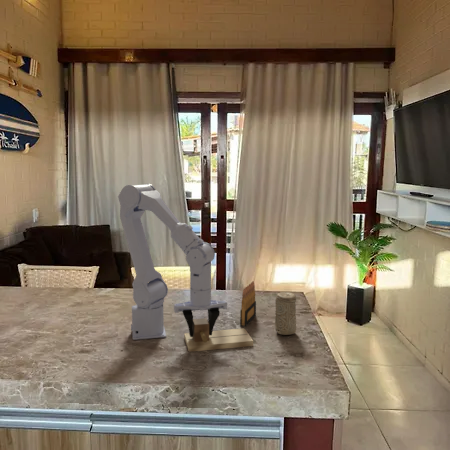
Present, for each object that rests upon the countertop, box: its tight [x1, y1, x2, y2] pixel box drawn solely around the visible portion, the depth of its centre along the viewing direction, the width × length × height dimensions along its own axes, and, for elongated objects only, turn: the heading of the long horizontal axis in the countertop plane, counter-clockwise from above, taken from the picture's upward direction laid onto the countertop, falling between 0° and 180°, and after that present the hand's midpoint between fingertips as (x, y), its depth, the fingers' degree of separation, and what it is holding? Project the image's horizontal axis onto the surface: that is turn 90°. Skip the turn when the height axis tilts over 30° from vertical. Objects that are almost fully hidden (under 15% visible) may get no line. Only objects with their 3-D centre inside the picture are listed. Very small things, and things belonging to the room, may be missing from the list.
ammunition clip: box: [239, 281, 257, 328], centre depth 135 cm, size 11×2×12 cm, turn 159°
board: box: [183, 327, 254, 353], centre depth 119 cm, size 18×9×2 cm, turn 103°
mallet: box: [193, 317, 209, 343], centre depth 115 cm, size 4×9×5 cm, turn 13°
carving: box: [274, 291, 297, 336], centre depth 125 cm, size 6×8×12 cm
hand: (200, 334), depth 118 cm, fingers open, 5 cm apart
